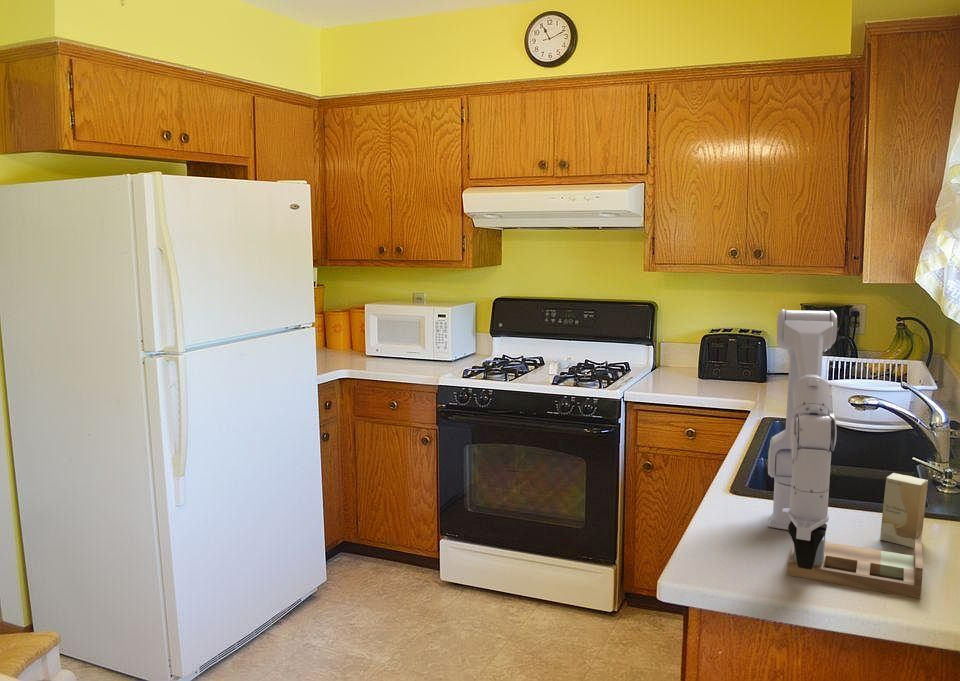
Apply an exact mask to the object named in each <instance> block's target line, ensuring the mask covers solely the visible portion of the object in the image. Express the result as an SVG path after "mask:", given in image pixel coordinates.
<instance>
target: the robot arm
mask: <svg viewBox="0 0 960 681" xmlns="http://www.w3.org/2000/svg"><path fill="white" fill-rule="evenodd" d="M837 335H838V316H837V313H836V312H835V311H834V310H828V311H826V310H797V309H796V310H795V309H794V310H793V309H791V310H790V309H783V308H782V309H780V310H779V311H778V314H777V322H776V345H777V347H778V348H780V349H783V350H786V352H787V354H788V356H789V357H788V358H789V368H788V380H787V382H788V383H787V385H788V386H787V399H786V414H785V416H786V417H785V420H786V421H785V429H784V430H782V431H780V432H778V433H776V434H774V435H773V436H771V439H770V440H769V447H768V452H767V453H768V454H767V457H768V458H767V474H768V476H770V478H773V479H774V485H773V488H774V489H773V507H772V515H771V516H770V519H769V520H768V521H769V522H768V523H767V527H769V528H774V529H778V530H779V529H781V530H786V531H788V533H789V536H790V537H791V540H792V542H793V546H795V552H796V559H797V564H798V567H799V568H804V569H810V570H811V569H812V567H813V564H814V560H815V556H816V552H817V548H818V546H819V544H820V542H821V540H822V539H823V537H824V536H825V537H826V533H827V529H828V524H827V523H828V522H829V514H828V510H829V493H830V476H831V461H832V452H834V450H835V449H836V448H835V446H836V442H837V421H836V417H835V414H834V410H832V409H831V394H830V393H831V392H830V385H829V383H828V381H826V380H825V379H824V378H823V377H822V371H823V369H822V368H823V367H822V366H823V352H824V351H826V350H830V349H831V348H832V346H833V345H834V344H835V342H836V341H837ZM830 449H831V450H830ZM831 451H832V452H831Z"/></svg>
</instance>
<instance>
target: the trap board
mask: <svg viewBox="0 0 960 681" xmlns="http://www.w3.org/2000/svg"><path fill="white" fill-rule="evenodd" d="M793 558H794V545H793V546H792V548H791V552H790V555H789V558H788V561H787V568H786V569H787V570H786V575H787V576H792V577H798V578H803V579H808V580H815V581H821V582H826V583H831V584H838V585H842V586H847V587H855V588H860V589H863V590H864V589H866V590H871V591H876V592H881V593H888V594H893V595H898V596H904V595H905V596H904V597H910V598H915V599H916V598H917V599H920V598H922V596H921V595H922V583H923V572H924V567H923V566H924V565H923V546H922V539H921V540H917V539H915V541H914V548H913V555H911V554H906V553H904V554H903V553H898V552H892V551H887V550H880V549H879V550H878V549H873V548H867V547H860V546H854V545H848V544H847V545H846V544H842V543H841V544H840V543H835V542H830V541H829V542H828V541H825V549H824V559H823V563H822V566H819V565H813V567H812V569H811V570H810V569H804V568H799V567H798V564H797V562H796V561H793Z"/></svg>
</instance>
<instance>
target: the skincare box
mask: <svg viewBox="0 0 960 681" xmlns="http://www.w3.org/2000/svg"><path fill="white" fill-rule="evenodd" d="M928 485H929V480H928V479H924V478H919V477H916V476H911V475H906V474H900V473H896V472H892V473H891V474H889V475H887V476H886V478H885V487H884V495H883V496H884V497H883V503H882V504H883V506H882V516H881V525H880V527H881V528H880V533H879V535H880V536H879V539H880V541H881V540H882V541H885V542H890V543H894V544H897V545H901V546H905V547H908V548H912V549H914V541H915V539H917V540H921V541H922V538H923V531H924V529H923V528H924V520H925V512H926V502H927V494H928V493H927V492H928Z"/></svg>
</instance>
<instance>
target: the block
mask: <svg viewBox="0 0 960 681" xmlns="http://www.w3.org/2000/svg"><path fill="white" fill-rule="evenodd" d="M825 542H826V535H825V536H824V537H823V539H822V540H821V542H820V544H819V546H818V548H817V552H816V556H815V560H814V564H813V565H819V566H822V563H823V559H824V549H825ZM793 546H794V545H793ZM793 561H796V562H797V559H796V552H795V546H794V558H793Z"/></svg>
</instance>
